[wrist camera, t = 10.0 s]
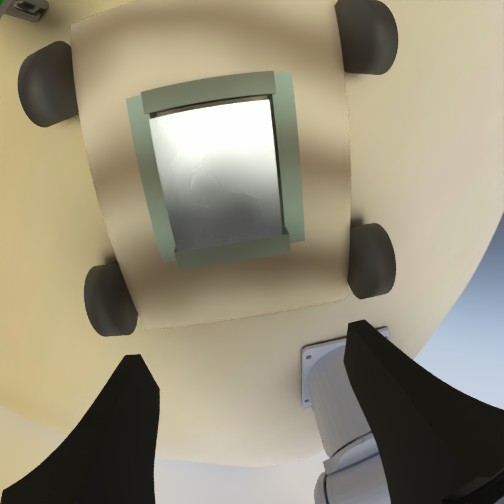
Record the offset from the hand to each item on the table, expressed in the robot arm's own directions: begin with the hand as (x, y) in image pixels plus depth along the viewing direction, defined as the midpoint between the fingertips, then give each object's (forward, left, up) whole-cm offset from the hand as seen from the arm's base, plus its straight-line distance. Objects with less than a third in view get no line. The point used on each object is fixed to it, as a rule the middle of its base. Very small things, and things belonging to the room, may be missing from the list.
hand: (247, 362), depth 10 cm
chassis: (+5, 0, -9) cm, 11 cm away
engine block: (+5, 0, -8) cm, 10 cm away
